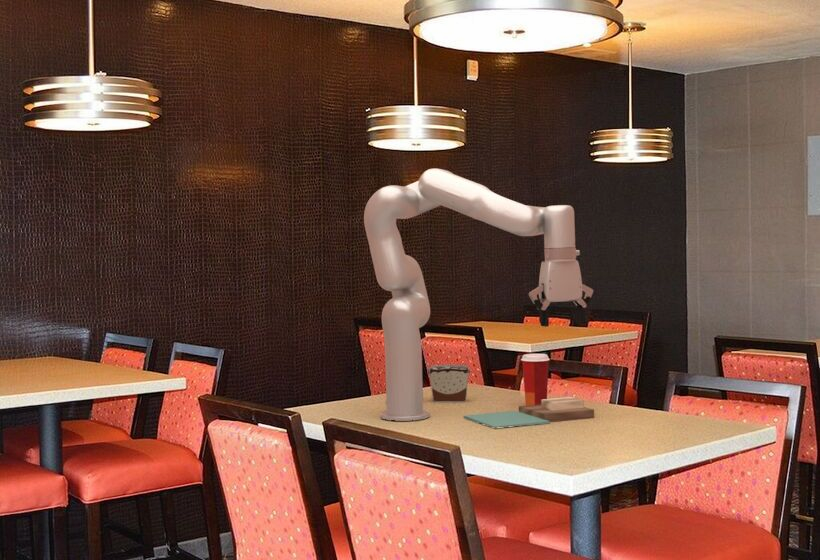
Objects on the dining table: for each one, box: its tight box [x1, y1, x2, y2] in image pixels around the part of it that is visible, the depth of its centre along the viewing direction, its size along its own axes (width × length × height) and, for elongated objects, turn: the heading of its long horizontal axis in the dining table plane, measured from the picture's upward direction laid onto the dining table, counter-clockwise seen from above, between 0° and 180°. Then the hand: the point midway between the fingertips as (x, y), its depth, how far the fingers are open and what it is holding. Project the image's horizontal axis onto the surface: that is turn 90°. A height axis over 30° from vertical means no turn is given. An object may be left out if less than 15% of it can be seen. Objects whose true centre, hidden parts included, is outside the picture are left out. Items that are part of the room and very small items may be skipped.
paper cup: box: [520, 353, 550, 406], centre depth 282 cm, size 8×8×14 cm
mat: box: [463, 410, 551, 428], centre depth 261 cm, size 18×15×1 cm
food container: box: [426, 364, 471, 403], centre depth 296 cm, size 12×6×10 cm, turn 82°
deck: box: [518, 404, 595, 423], centre depth 267 cm, size 14×14×2 cm
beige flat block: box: [541, 396, 585, 411], centre depth 267 cm, size 6×9×2 cm, turn 112°
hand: (562, 324), depth 256 cm, fingers open, 9 cm apart
